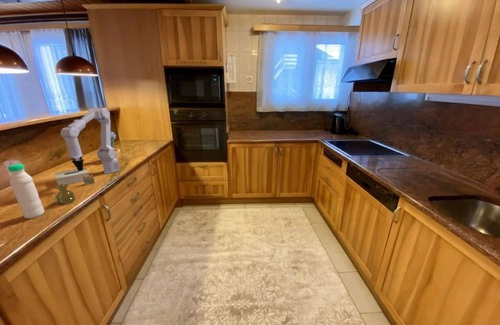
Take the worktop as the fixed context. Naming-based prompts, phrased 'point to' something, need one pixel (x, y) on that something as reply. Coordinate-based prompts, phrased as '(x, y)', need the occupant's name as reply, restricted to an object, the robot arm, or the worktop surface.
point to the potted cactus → (112, 144)
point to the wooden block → (88, 180)
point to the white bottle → (25, 192)
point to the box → (70, 176)
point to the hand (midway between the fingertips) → (80, 169)
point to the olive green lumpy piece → (64, 195)
